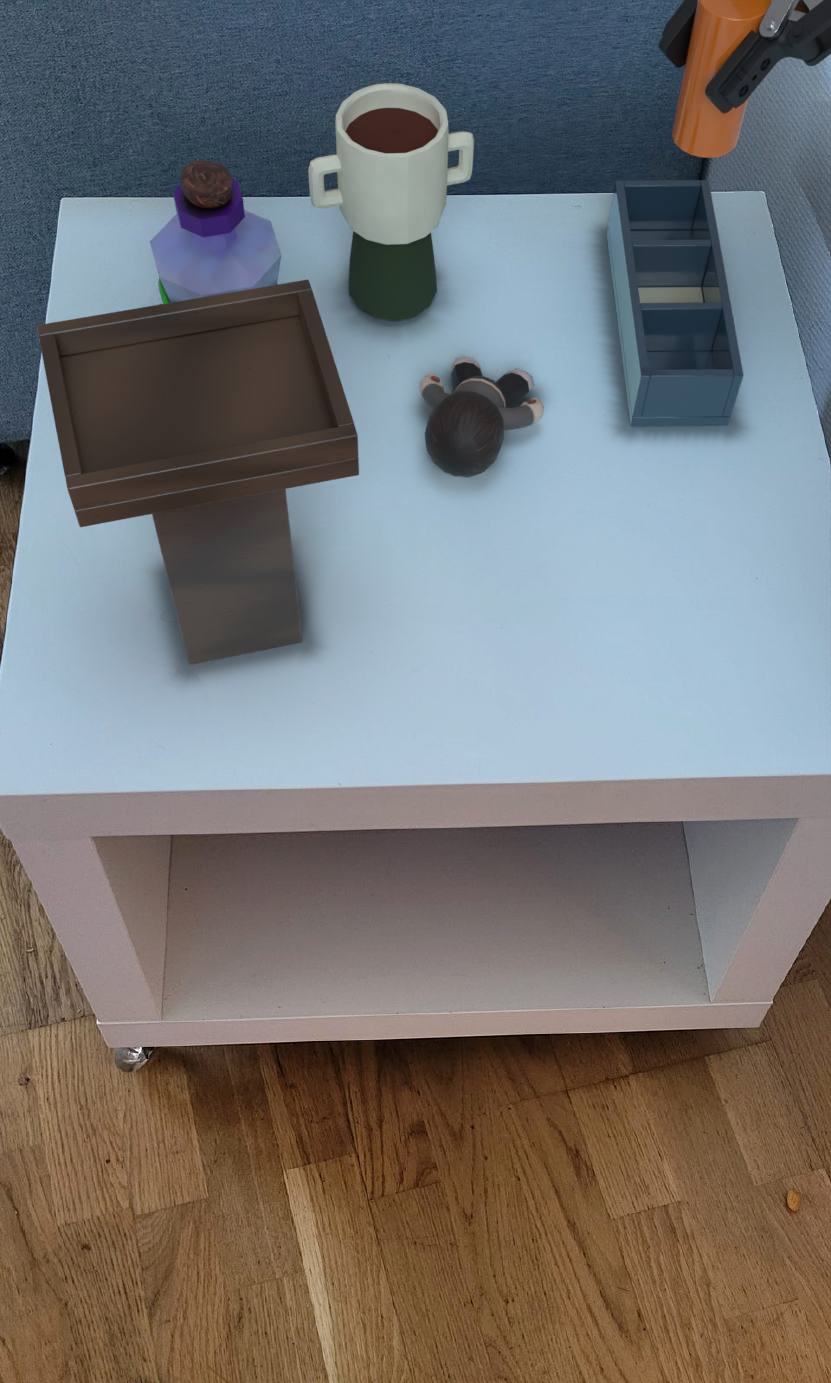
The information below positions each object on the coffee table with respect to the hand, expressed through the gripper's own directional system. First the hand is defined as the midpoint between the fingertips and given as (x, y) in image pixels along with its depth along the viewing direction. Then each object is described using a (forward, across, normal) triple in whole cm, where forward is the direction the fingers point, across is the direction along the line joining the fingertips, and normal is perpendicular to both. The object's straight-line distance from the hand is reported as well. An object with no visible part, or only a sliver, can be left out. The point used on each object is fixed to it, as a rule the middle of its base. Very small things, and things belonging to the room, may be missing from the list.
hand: (692, 80), depth 74 cm
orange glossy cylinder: (+1, 0, +4) cm, 4 cm away
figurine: (+23, +2, +2) cm, 24 cm away
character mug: (+22, -12, +4) cm, 25 cm away
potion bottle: (+31, -14, -5) cm, 34 cm away
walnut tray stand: (+37, +7, -12) cm, 40 cm away
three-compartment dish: (+11, 0, +14) cm, 18 cm away
